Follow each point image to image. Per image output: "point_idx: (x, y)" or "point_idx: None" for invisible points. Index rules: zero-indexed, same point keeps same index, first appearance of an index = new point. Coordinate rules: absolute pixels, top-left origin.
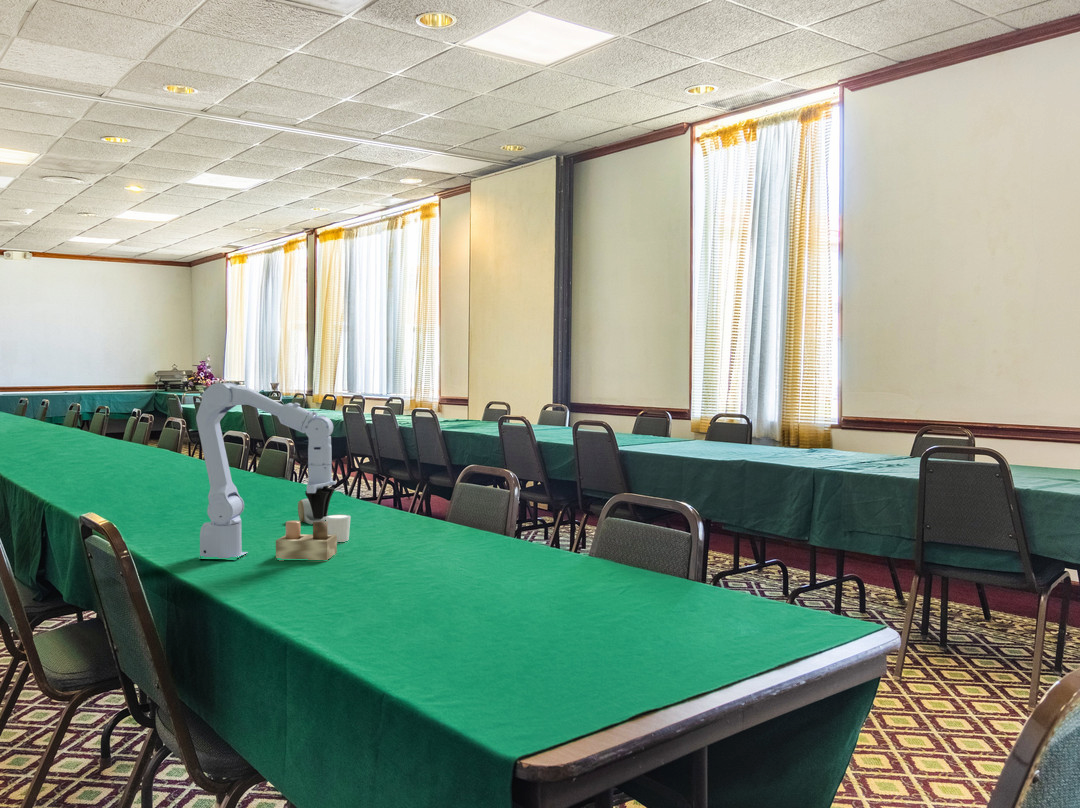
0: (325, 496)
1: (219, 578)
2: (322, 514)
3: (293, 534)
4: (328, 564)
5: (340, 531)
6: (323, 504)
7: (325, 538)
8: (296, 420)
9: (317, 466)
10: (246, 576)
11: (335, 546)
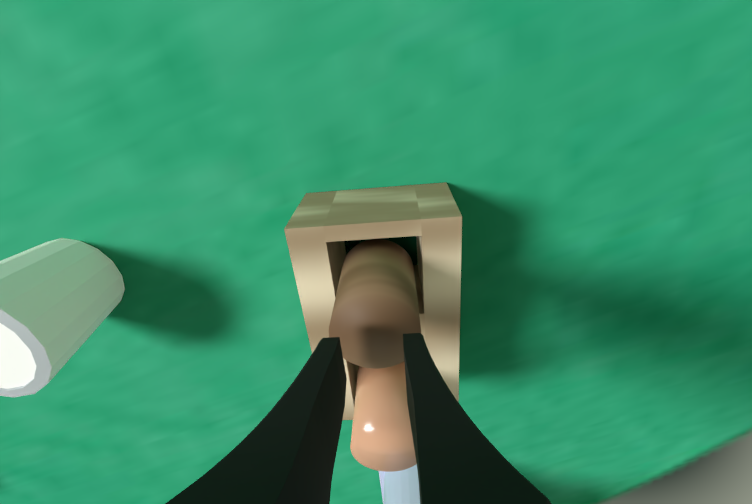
0: (523, 483)
1: (689, 405)
2: (427, 351)
3: None
4: (501, 154)
5: (70, 281)
6: (463, 411)
7: (391, 250)
8: None
9: None
10: (677, 353)
11: (316, 206)
